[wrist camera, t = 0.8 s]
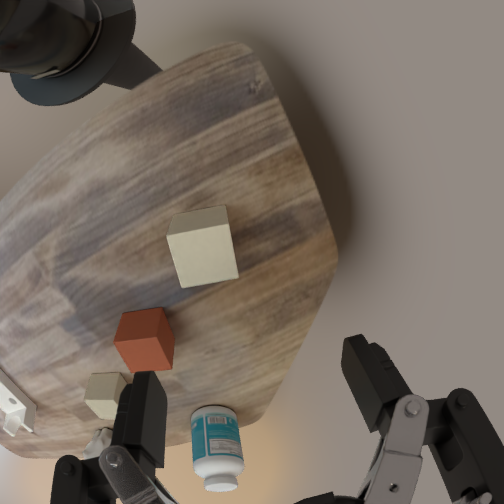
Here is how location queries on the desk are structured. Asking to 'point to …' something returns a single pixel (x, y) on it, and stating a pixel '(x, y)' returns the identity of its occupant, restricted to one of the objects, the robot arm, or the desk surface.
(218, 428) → the pill bottle
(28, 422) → the bracket
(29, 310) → the desk surface
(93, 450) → the elephant figurine
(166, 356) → the block
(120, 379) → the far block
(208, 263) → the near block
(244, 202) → the desk surface
